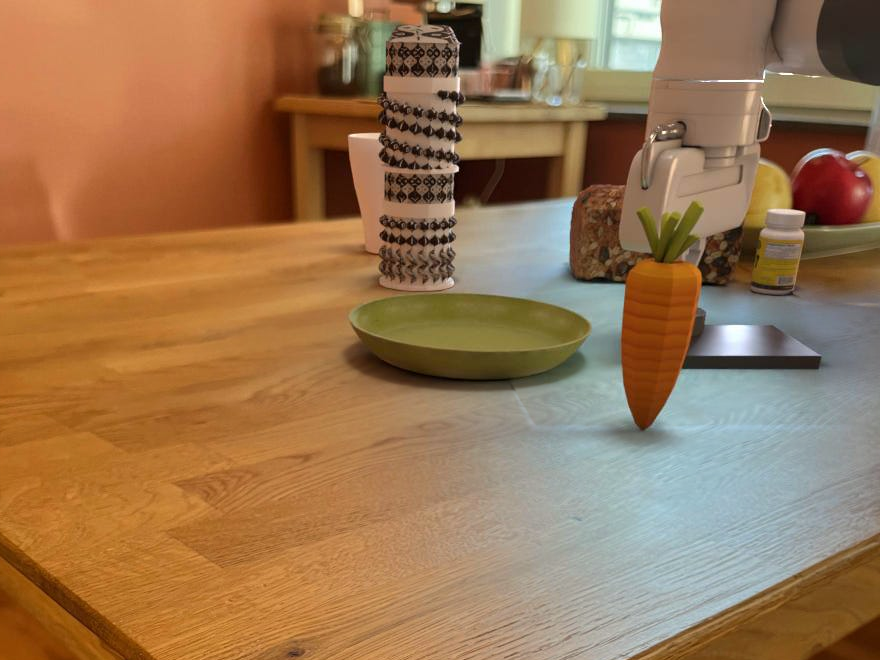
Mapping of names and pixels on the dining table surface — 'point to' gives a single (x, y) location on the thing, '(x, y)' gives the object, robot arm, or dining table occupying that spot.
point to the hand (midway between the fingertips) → (676, 292)
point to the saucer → (469, 334)
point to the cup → (368, 185)
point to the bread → (604, 256)
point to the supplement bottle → (778, 252)
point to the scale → (745, 348)
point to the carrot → (659, 314)
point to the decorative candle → (419, 157)
